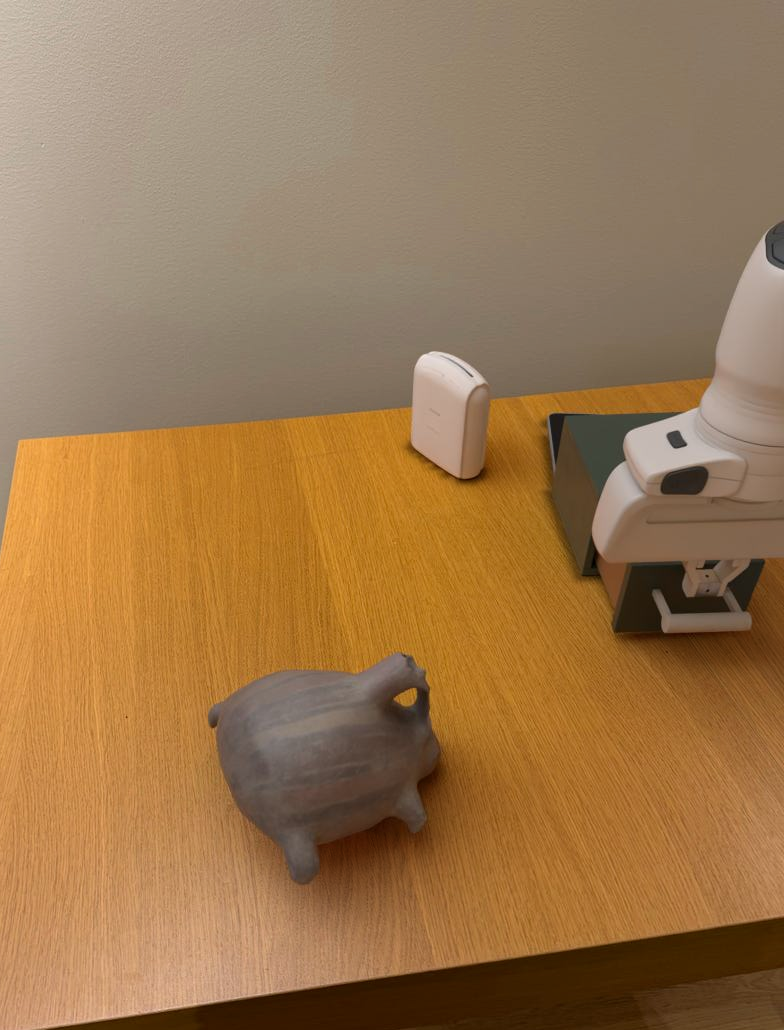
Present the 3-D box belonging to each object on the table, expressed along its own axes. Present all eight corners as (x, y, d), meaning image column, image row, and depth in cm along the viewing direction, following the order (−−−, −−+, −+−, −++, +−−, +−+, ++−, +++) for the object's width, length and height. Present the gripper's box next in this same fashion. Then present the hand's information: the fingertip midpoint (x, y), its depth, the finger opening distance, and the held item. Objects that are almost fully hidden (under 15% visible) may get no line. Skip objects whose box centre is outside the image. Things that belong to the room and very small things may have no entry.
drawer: (759, 667, 80) (789, 599, 75) (628, 672, 80) (648, 604, 75) (691, 540, 94) (712, 474, 88) (579, 543, 94) (593, 478, 88)
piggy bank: (409, 678, 80) (462, 631, 67) (441, 867, 76) (505, 856, 62) (203, 699, 76) (216, 653, 63) (225, 897, 72) (244, 893, 59)
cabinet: (708, 571, 91) (736, 490, 85) (581, 575, 91) (599, 495, 85) (664, 489, 102) (686, 411, 95) (550, 493, 102) (564, 415, 96)
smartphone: (555, 481, 102) (546, 412, 113) (554, 488, 103) (545, 418, 113) (624, 484, 101) (609, 414, 112) (622, 491, 102) (607, 420, 113)
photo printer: (404, 445, 110) (409, 348, 102) (433, 434, 112) (440, 338, 103) (459, 485, 104) (468, 384, 95) (488, 473, 105) (500, 373, 97)
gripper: (871, 424, 71) (808, 565, 80) (605, 432, 71) (574, 572, 80) (911, 469, 66) (840, 613, 76) (627, 477, 66) (591, 620, 76)
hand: (701, 592), depth 78 cm, fingers closed
